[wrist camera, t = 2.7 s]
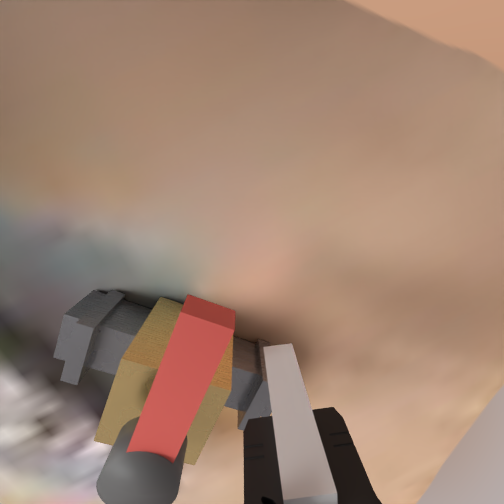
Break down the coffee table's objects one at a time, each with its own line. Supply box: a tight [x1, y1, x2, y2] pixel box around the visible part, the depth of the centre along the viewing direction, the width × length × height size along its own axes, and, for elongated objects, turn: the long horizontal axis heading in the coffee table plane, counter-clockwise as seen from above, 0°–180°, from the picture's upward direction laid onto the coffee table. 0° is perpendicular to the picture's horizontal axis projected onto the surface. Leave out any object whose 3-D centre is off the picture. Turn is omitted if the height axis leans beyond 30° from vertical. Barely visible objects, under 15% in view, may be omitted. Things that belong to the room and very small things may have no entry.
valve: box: [54, 290, 272, 465], centre depth 20 cm, size 18×7×10 cm, turn 67°
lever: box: [96, 295, 235, 504], centre depth 13 cm, size 12×4×2 cm, turn 157°
